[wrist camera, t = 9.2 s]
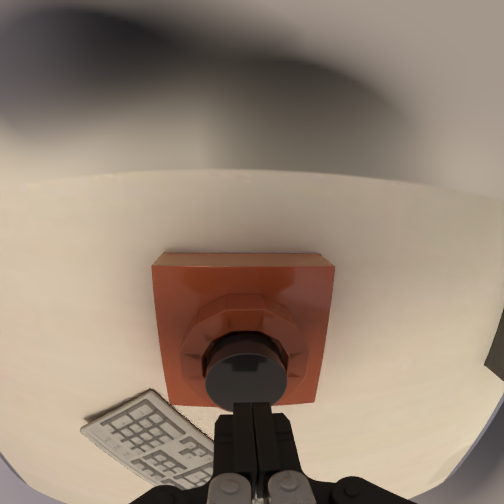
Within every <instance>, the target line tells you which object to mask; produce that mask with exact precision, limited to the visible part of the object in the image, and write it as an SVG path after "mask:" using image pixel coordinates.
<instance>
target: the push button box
mask: <svg viewBox="0 0 504 504" xmlns="http://www.w3.org/2000/svg"><path fill="white" fill-rule="evenodd" d="M484 365H485V366H486V367H487V368H489V369H490V370H491V371H492V372H493V373H494V374H496V375H497V376H498V377H499V378H500V379H501V380H502V381H504V311H503V314H502V317H501V321H500V324H499V327H498V330H497V333H496V336H495V339H494V341H493V344H492V347H491V349H490V352H489V355H488V357H487V360H486V362H485V364H484Z"/></svg>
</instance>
